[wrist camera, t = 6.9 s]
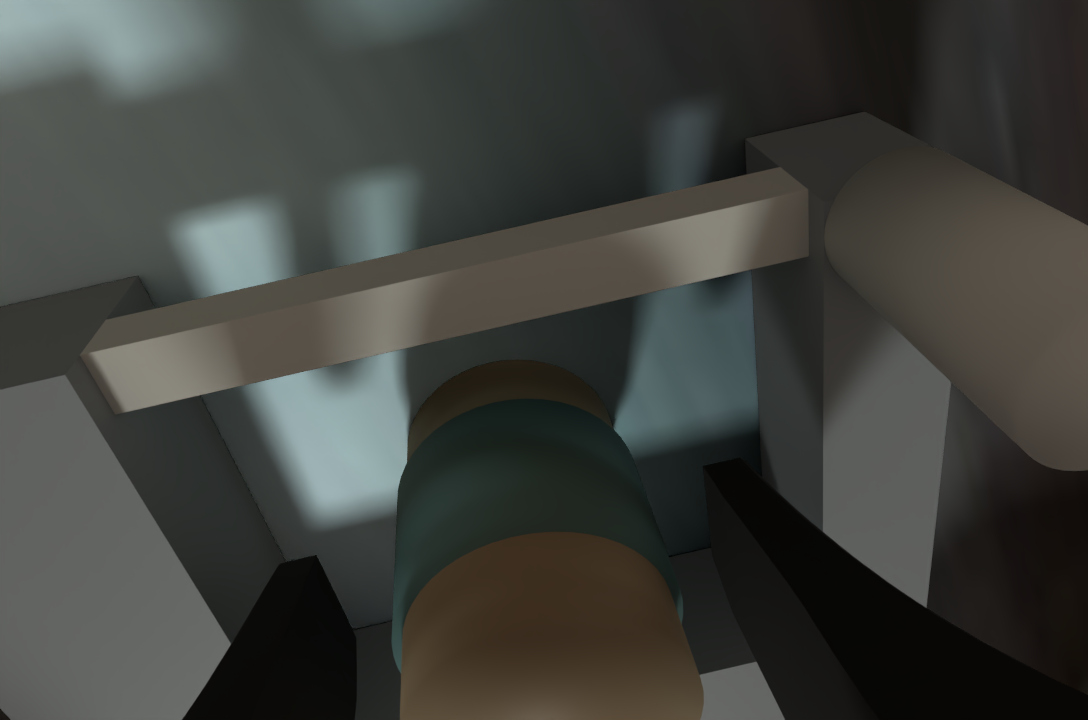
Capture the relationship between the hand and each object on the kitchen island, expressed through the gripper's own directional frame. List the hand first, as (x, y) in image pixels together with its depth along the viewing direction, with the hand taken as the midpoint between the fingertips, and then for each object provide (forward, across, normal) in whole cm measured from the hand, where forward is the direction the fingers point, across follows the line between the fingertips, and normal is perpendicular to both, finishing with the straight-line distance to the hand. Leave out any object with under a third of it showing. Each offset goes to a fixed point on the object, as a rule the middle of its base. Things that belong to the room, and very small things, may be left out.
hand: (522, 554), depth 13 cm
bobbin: (+3, 0, 0) cm, 3 cm away
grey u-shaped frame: (+3, +1, +2) cm, 4 cm away
